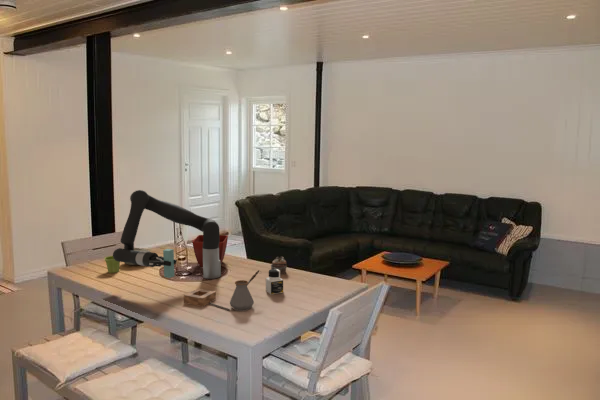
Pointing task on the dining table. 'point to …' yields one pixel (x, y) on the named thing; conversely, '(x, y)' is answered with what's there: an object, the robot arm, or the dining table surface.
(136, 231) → the robot arm
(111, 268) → the plant pot
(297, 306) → the dining table surface
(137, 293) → the dining table surface
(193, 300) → the brown square slotted piece
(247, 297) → the coffee pot
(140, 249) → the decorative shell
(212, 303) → the dark grey rod
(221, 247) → the plant pot
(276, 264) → the cupcake
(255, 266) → the dining table surface
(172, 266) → the peg
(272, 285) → the medicine bottle
